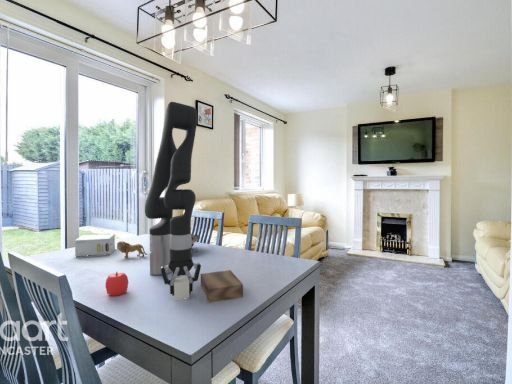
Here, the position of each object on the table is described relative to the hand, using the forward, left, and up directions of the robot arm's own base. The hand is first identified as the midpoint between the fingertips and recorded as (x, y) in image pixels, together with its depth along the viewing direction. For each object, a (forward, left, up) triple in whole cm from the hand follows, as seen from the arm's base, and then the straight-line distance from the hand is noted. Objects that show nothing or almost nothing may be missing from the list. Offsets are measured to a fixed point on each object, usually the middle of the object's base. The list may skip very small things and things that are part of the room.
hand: (181, 293), depth 98 cm
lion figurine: (-22, +58, -1) cm, 62 cm away
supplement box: (-42, +74, -1) cm, 85 cm away
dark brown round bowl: (+1, +62, -1) cm, 62 cm away
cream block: (0, 0, -1) cm, 1 cm away
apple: (-22, +10, -1) cm, 24 cm away
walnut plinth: (+14, 0, -1) cm, 14 cm away
